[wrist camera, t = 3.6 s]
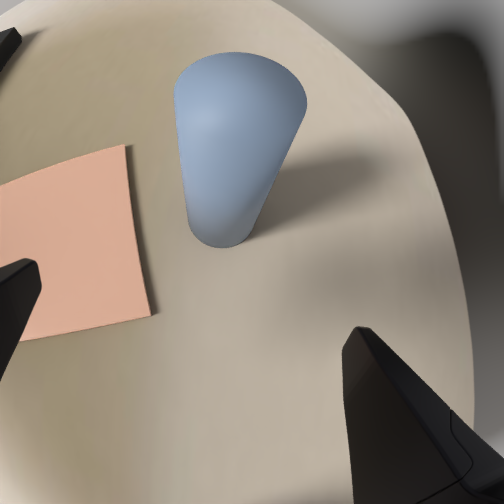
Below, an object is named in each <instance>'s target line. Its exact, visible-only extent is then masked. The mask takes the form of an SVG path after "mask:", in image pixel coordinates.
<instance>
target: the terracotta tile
mask: <svg viewBox="0 0 504 504" xmlns="http://www.w3.org/2000/svg"><path fill="white" fill-rule="evenodd" d="M23 258H29V259H32V260H35V261H36V262H37V264H38V267H39V272H40V277H41V282H42V290H41V293H40V295H39V297H38V299H37V302H36V304H35V306H34V308H33V311H32V313H31V315H30V318H29V320H28V322H27V325H26V327H25V330H24V332H23V334H22V336H21V338H20V340H19V342H22V341H28V340H34V339H39V338H45V337H50V336H56V335H61V334H66V333H72V332H77V331H82V330H87V329H92V328H97V327H102V326H107V325H111V324H116V323H121V322H126V321H130V320H135V319H140V318H144V317H149V316H152V314H151V310H150V305H149V301H148V296H147V291H146V287H145V282H144V277H143V272H142V266H141V261H140V255H139V250H138V244H137V238H136V231H135V225H134V218H133V211H132V204H131V196H130V187H129V178H128V169H127V158H126V147H125V144H122V145H118V146H114V147H111V148H107V149H104V150H100V151H97V152H93V153H90V154H86V155H83V156H80V157H77V158H74V159H70V160H67V161H64V162H61V163H58V164H56V165H53V166H50V167H47V168H44V169H41V170H39V171H36V172H33V173H31V174H28V175H26V176H23V177H21V178H18V179H16V180H13V181H11V182H8V183H6V184H4V185H1V186H0V267H3V266H5V265H8V264H10V263H13V262H15V261H18V260H20V259H23Z"/></svg>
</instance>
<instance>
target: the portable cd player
mask: <svg viewBox="0 0 504 504" xmlns="http://www.w3.org/2000/svg"><path fill="white" fill-rule="evenodd" d="M21 42H22V38H21V35H20V34H19V33H18V31H17V30H16V29H15V27H13V28H10V29H7V30H5V31H2V32H0V72H1V70H2V69H3V67H4V66H5V64H6V63H7V61H8V60H9V59H10V57H11V56H12V54H13V53H14V52H15V50H16V49H17V48H18V46H19V45H20V44H21Z"/></svg>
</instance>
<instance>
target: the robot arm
mask: <svg viewBox="0 0 504 504" xmlns="http://www.w3.org/2000/svg"><path fill="white" fill-rule="evenodd" d="M41 290H42V282H41V277H40V272H39V267H38V264H37V262H36V261H35V260H32V259H29V258H23V259H20V260H18V261H15V262H13V263H10V264H8V265H5V266H3V267H0V381H1V379H2V376H3V374H4V372H5V369H6V367H7V365H8V363H9V361H10V359H11V357H12V354H13V352H14V350H15V348H16V346H17V344H18V342H19V340H20V338H21V336H22V334H23V332H24V330H25V327H26V325H27V322H28V320H29V318H30V315H31V313H32V311H33V308H34V306H35V304H36V302H37V299H38V297H39V295H40V293H41ZM342 373H343V401H344V410H345V418H346V426H347V434H348V443H349V453H350V463H351V474H352V485H353V499H354V504H504V458H503V457H502V456H501V455H499V454H498V453H497V452H496V451H495V450H494V449H493V448H492V447H490V446H489V445H488V444H487V443H486V442H485V441H484V440H483V439H481V438H480V437H479V436H478V435H477V434H476V433H475V432H474V431H473V430H472V429H471V428H470V427H469V426H468V425H467V424H466V423H465V422H464V421H463V420H462V419H461V418H460V417H459V416H458V415H457V414H456V413H455V412H454V411H453V410H452V409H450V407H449V406H448V405H447V404H446V403H445V402H444V401H443V400H442V399H441V398H440V397H439V396H438V395H437V394H436V393H435V392H434V391H433V390H432V389H431V388H430V387H429V386H428V385H427V384H426V383H425V382H424V381H423V380H422V379H421V378H420V377H419V376H418V375H417V374H416V373H415V372H414V371H413V370H412V369H411V368H410V367H409V366H408V365H407V364H406V363H405V362H404V361H403V360H402V359H401V358H400V357H399V356H398V355H397V354H396V353H395V352H394V351H393V350H392V349H391V348H390V347H389V346H388V345H387V344H386V343H385V342H384V341H383V340H382V339H381V338H380V337H379V336H378V335H377V334H376V333H374V332H373V331H372V330H371V329H370V328H368V327H360V326H357V327H355V328H354V329H353V331H352V332H351V334H350V336H349V338H348V339H347V341H346V343H345V344H344V346H343V349H342Z"/></svg>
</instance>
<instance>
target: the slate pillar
mask: <svg viewBox="0 0 504 504" xmlns="http://www.w3.org/2000/svg"><path fill="white" fill-rule="evenodd" d="M174 104H175V115H176V126H177V135H178V145H179V154H180V162H181V171H182V179H183V186H184V194H185V201H186V208H187V215H188V222H189V226H190V228H191V231H192V232H193V234H194V235H195V236H196V238H198V239H199V240H200V241H201V242H203V243H204V244H206V245H208V246H211V247H215V248H228V247H232V246H235V245H237V244H239V243H241V242H242V241H244V240H245V239H246V238H247V237H248V235H249V234H250V233H251V231H252V229H253V226H254V224H255V222H256V220H257V218H258V216H259V213H260V211H261V209H262V207H263V205H264V202H265V200H266V198H267V196H268V194H269V191H270V189H271V187H272V185H273V183H274V181H275V178H276V176H277V174H278V172H279V170H280V168H281V165H282V163H283V161H284V159H285V157H286V155H287V152H288V150H289V148H290V146H291V144H292V142H293V139H294V137H295V135H296V133H297V131H298V129H299V127H300V124H301V122H302V120H303V118H304V116H305V113H306V109H307V98H306V94H305V91H304V89H303V86H302V85H301V83H300V82H299V80H298V79H297V78H296V77H295V76H294V75H293V74H292V73H291V72H290V71H289V70H288V69H286V68H285V67H284V66H282V65H280V64H279V63H277V62H275V61H273V60H271V59H268V58H265V57H262V56H259V55H255V54H250V53H242V52H227V53H219V54H215V55H211V56H208V57H205V58H202V59H200V60H198V61H196V62H195V63H193V64H191V65H190V66H189V67H187V68H186V69H185V70H184V71H183V72H182V74H181V75H180V76H179V78H178V80H177V82H176V84H175V88H174Z"/></svg>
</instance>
